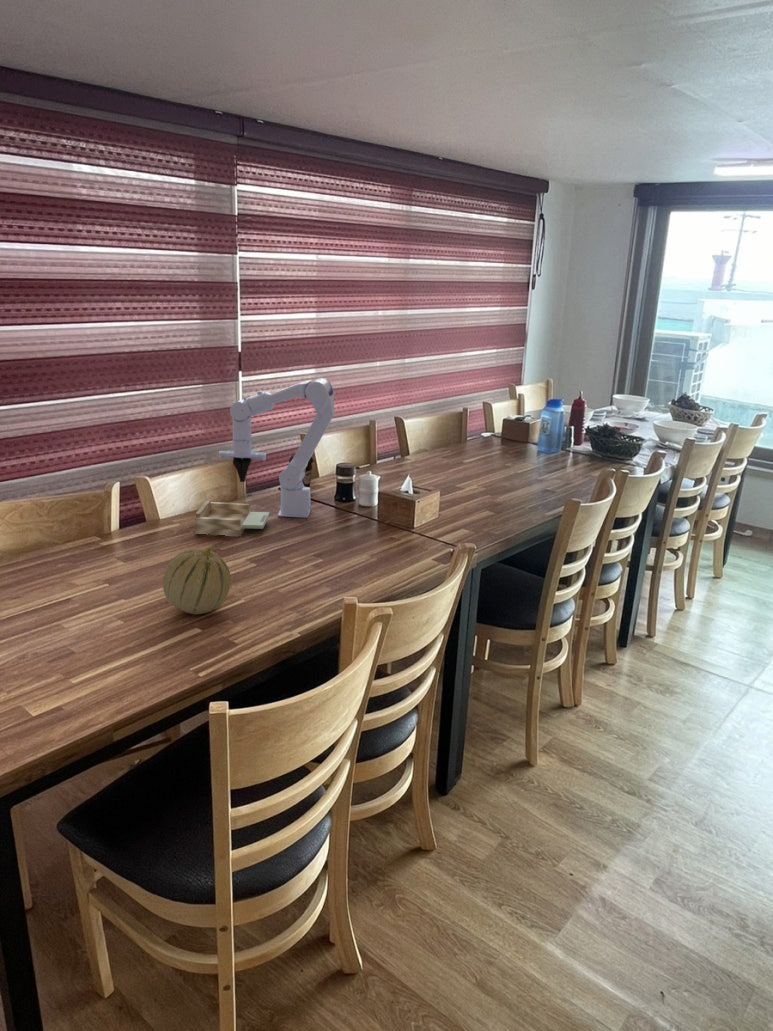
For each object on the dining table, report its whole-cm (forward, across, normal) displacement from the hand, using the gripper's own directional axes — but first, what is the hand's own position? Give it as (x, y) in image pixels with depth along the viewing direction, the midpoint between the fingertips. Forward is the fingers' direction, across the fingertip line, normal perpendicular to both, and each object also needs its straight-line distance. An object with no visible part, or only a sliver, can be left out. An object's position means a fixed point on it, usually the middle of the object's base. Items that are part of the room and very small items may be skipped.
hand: (242, 481), depth 229 cm
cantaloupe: (+10, -4, +72) cm, 73 cm away
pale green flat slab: (+7, -4, +17) cm, 19 cm away
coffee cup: (+10, -16, -22) cm, 29 cm away
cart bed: (+9, +3, +17) cm, 19 cm away
